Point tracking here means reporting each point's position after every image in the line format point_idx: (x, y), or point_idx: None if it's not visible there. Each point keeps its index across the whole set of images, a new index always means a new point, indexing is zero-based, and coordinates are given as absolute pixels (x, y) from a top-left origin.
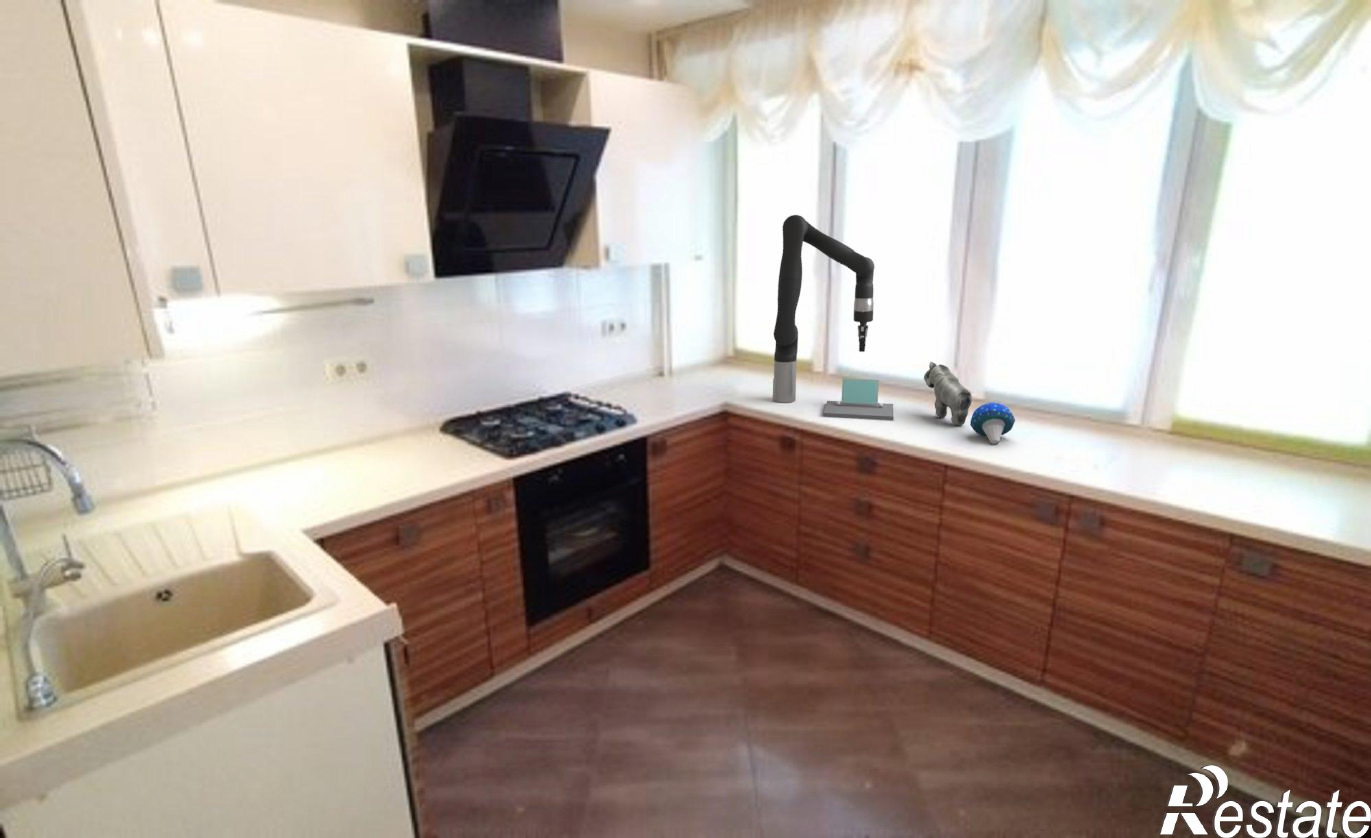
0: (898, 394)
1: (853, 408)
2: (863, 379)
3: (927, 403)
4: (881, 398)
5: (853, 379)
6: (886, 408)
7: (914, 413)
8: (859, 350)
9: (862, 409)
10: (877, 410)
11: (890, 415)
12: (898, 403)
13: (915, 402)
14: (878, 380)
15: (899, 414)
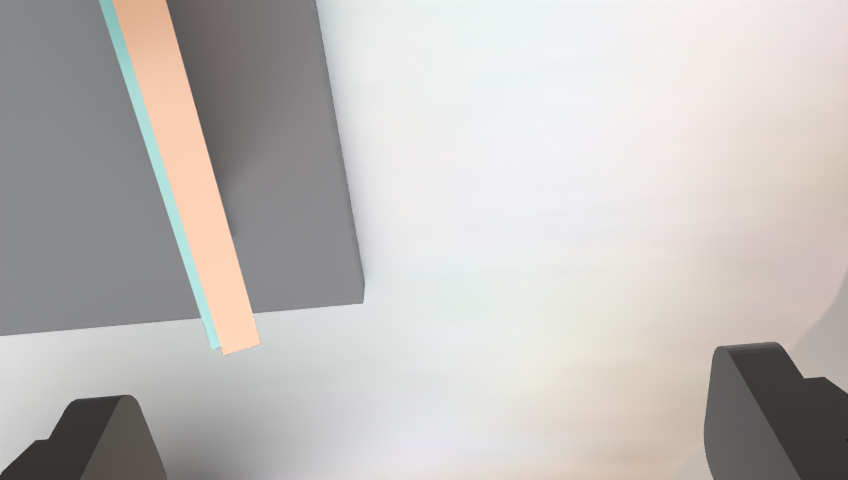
0: (792, 289)
1: (49, 4)
2: (172, 187)
3: (547, 462)
4: (639, 179)
5: (115, 51)
6: None
7: (261, 414)
8: (71, 419)
9: (62, 93)
10: (101, 216)
11: (11, 315)
12: (500, 310)
13: (557, 403)
14: (220, 346)
15: (189, 339)
